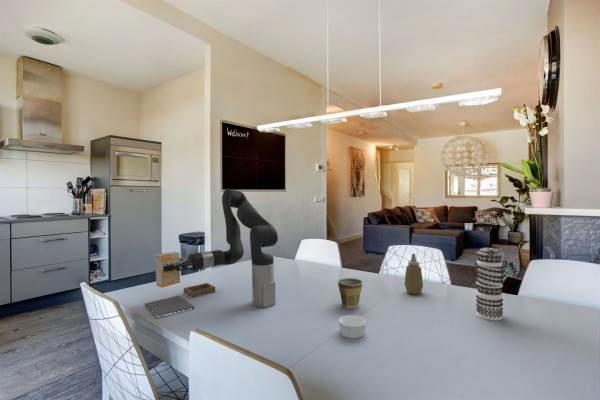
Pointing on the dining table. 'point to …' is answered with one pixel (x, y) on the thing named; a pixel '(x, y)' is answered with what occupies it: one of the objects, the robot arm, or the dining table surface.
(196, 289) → the cradle
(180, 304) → the slate mat
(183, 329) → the dining table surface
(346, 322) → the ramekin
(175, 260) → the supplement box
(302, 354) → the dining table surface
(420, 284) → the squeeze bottle
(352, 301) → the ceramic cup
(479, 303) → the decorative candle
